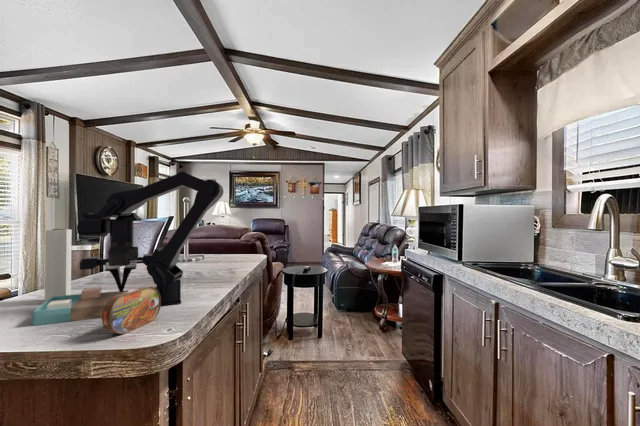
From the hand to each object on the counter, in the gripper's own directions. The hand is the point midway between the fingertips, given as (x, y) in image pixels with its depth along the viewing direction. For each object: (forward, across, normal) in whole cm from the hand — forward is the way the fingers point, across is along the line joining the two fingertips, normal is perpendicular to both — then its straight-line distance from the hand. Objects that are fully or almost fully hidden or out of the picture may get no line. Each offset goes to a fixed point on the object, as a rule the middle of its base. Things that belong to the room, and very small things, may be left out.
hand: (121, 291), depth 91 cm
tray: (+4, -13, -4) cm, 14 cm away
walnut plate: (+4, -4, -4) cm, 7 cm away
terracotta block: (+1, -7, 0) cm, 7 cm away
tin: (+4, +4, -24) cm, 24 cm away
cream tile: (+2, -12, -8) cm, 15 cm away
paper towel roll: (+4, -17, +12) cm, 21 cm away
